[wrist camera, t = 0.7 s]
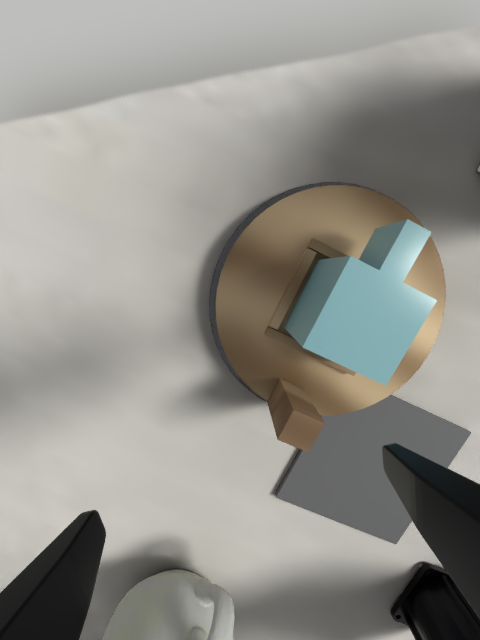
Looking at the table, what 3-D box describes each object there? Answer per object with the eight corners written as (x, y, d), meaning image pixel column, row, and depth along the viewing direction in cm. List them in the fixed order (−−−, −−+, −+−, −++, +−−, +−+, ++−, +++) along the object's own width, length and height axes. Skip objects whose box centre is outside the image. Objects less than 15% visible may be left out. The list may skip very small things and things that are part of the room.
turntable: (366, 440, 21) (410, 495, 16) (180, 359, 20) (162, 391, 15) (479, 253, 19) (573, 247, 14) (278, 143, 17) (299, 89, 12)
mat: (393, 539, 24) (395, 544, 24) (275, 493, 23) (276, 497, 23) (467, 429, 23) (471, 432, 22) (343, 372, 21) (345, 374, 21)
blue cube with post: (345, 355, 19) (386, 386, 14) (283, 326, 19) (302, 347, 14) (401, 254, 18) (468, 247, 13) (337, 220, 18) (380, 199, 12)
